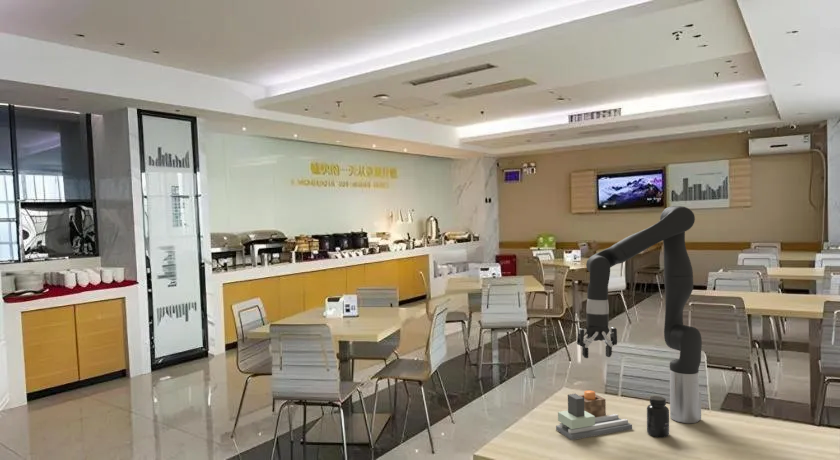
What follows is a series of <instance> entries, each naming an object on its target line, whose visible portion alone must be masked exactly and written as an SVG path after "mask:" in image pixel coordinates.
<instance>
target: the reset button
mask: <svg viewBox="0 0 840 460" xmlns="http://www.w3.org/2000/svg"><path fill="white" fill-rule="evenodd" d="M595 394H596V391H594V390H584V391H583V395H584V398H585V399H586V400H595Z"/></svg>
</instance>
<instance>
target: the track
mask: <svg viewBox="0 0 840 460" xmlns="http://www.w3.org/2000/svg"><path fill="white" fill-rule="evenodd" d="M632 429H633V423H632V424H631V423H629V420H628V419H627V418H623V419H622V418H620V417H619V414H617V413H613V414H607V415H606V416H600V417H595V425H593V426H588V427H582V428H576V429H571V428H569V427H567V426H566V425H564V424H563V423H561V422H559V424H558V425H555V430H556V432H557V433H558V432H559V433H560V434H561V435H563V436H565V437H566V438H568V439H569V440H570V441H575V440H580V439H585V438H591V437H597V436H601V435H607V434H613V433H618V432H624V431H629V430H632Z"/></svg>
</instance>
